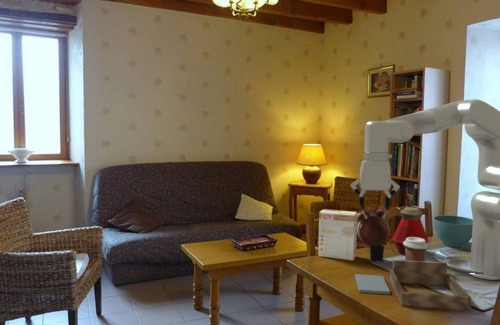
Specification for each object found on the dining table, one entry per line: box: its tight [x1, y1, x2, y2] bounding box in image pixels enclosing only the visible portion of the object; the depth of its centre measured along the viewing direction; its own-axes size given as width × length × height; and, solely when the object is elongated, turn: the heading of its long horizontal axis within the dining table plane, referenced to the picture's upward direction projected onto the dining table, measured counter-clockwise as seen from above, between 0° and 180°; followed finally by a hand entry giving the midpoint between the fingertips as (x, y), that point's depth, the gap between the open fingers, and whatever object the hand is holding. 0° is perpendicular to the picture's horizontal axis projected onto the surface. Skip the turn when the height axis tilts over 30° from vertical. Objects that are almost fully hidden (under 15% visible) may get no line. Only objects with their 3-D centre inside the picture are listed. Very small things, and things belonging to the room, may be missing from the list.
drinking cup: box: [369, 241, 386, 262], centre depth 165 cm, size 8×8×20 cm
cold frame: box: [389, 259, 472, 312], centre depth 131 cm, size 20×20×8 cm
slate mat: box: [354, 273, 391, 295], centre depth 139 cm, size 10×14×1 cm
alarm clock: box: [357, 203, 391, 248], centre depth 138 cm, size 11×5×15 cm, turn 92°
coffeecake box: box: [317, 208, 358, 261], centre depth 169 cm, size 15×7×20 cm, turn 66°
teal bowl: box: [433, 214, 473, 249], centre depth 187 cm, size 18×18×12 cm
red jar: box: [391, 206, 429, 256], centre depth 174 cm, size 16×14×20 cm
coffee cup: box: [403, 237, 429, 261], centre depth 155 cm, size 9×9×12 cm
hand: (374, 207), depth 137 cm, fingers closed on alarm clock, 7 cm apart
